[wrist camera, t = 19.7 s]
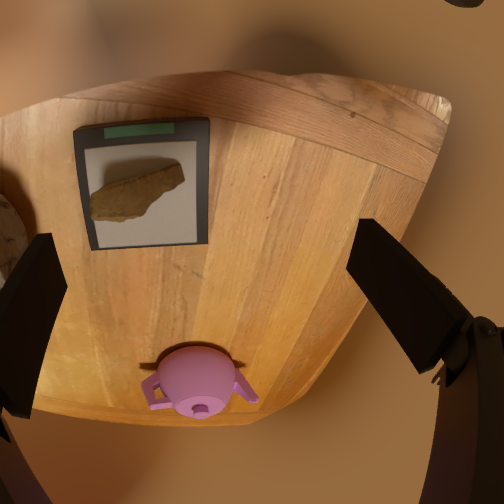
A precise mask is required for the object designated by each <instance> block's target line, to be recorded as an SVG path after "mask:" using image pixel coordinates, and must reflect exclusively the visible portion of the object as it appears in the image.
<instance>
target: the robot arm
mask: <svg viewBox="0 0 504 504" xmlns="http://www.w3.org/2000/svg"><path fill="white" fill-rule="evenodd" d="M346 270H347V271H348V272H349V274H350V275H351V276H352V278H353V279H354V280H355V282H356V283H357V284H358V286H359V287H360V289H361V290H362V291H363V293H364V294H365V295H366V297H367V298H368V300H369V301H370V302H371V304H372V305H373V307H374V308H375V309H376V311H377V312H378V314H379V315H380V316H381V318H382V319H383V321H384V322H385V324H386V325H387V327H388V328H389V329H390V331H391V332H392V334H393V335H394V337H395V338H396V339H397V341H398V342H399V344H400V346H401V347H402V349H403V350H404V352H405V353H406V355H407V356H408V357H409V359H410V361H411V362H412V363H413V365H414V367H415V368H416V370H417V371H418V373H419V374H421V373H424V372H426V371H429V370H431V369H433V368H434V367H435V366H436V364H437V363H438V361H439V360H440V359H441V358H442V360H443V361H444V365H443V366H442V367H441V368H440V370H439V371H438V372H437V374H436V375H435V376H434V377H433V379H432V383H434V382H435V381H436V380H437V378H438V377H440V380H439V382H438V383H437V385H440V387H439V399H438V409H437V417H436V425H435V431H434V438H433V444H432V449H431V455H430V460H429V465H428V469H427V474H426V478H425V482H424V486H423V490H422V494H421V498H420V501H419V504H504V327H497V326H496V325H495V324H494V323H493V322H492V321H491V320H489V319H487V318H486V317H482V316H479V317H476V318H474V317H473V316H472V315H471V314H470V313H469V311H468V310H467V309H466V308H465V307H464V306H463V305H462V303H461V302H460V301H459V300H458V299H457V298H456V297H455V296H454V295H452V292H451V291H450V290H449V289H448V288H446V286H445V285H444V284H443V283H442V282H441V281H440V280H439V279H438V278H437V277H435V276H434V275H432V274H431V273H430V272H429V271H428V270H427V269H426V268H425V267H424V266H423V265H422V264H421V263H420V262H418V260H417V259H416V258H414V256H412V254H410V253H409V252H408V251H407V250H406V249H405V248H404V247H403V246H402V245H401V244H400V243H399V242H398V241H397V240H396V239H395V238H394V237H393V236H392V235H391V234H389V233H388V232H387V231H386V230H385V229H384V228H383V227H382V226H381V225H380V224H379V223H377V222H376V221H375V220H374V219H359V223H358V227H357V231H356V234H355V238H354V242H353V246H352V249H351V253H350V257H349V260H348V264H347V267H346ZM67 287H68V286H67V283H66V280H65V277H64V274H63V271H62V268H61V265H60V261H59V258H58V255H57V251H56V248H55V244H54V240H53V237H52V233H43V234H36V236H35V237H34V238H33V240H32V241H31V243H30V244H29V246H28V247H27V248H26V250H25V251H24V253H23V254H22V256H21V257H20V259H19V261H18V262H17V264H16V265H15V267H14V268H13V270H12V272H11V273H10V275H9V277H8V278H7V280H6V282H5V283H4V285H3V287H2V288H1V290H0V504H53V503H52V502H51V500H50V499H49V497H48V496H47V494H46V493H45V491H44V490H43V488H42V487H41V485H40V483H39V482H38V480H37V479H36V477H35V475H34V474H33V472H32V470H31V469H30V467H29V465H28V463H27V462H26V460H25V458H24V456H23V454H22V453H21V451H20V449H19V447H18V445H17V443H16V441H15V439H14V437H13V435H12V433H11V430H10V428H9V426H8V424H7V422H6V420H5V418H4V417H3V416H2V415H1V413H2V409H3V407H4V408H5V409H6V410H7V411H8V412H9V413H10V414H11V415H12V416H15V417H20V418H26V419H30V415H31V409H32V405H33V400H34V395H35V391H36V386H37V382H38V378H39V374H40V370H41V366H42V363H43V359H44V355H45V352H46V349H47V345H48V342H49V339H50V335H51V332H52V329H53V326H54V323H55V320H56V317H57V314H58V312H59V309H60V306H61V303H62V301H63V298H64V295H65V293H66V290H67Z"/></svg>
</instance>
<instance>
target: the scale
mask: <svg viewBox="0 0 504 504" xmlns="http://www.w3.org/2000/svg"><path fill="white" fill-rule="evenodd" d="M73 138H74V149H75V159H76V167H77V175H78V182H79V189H80V196H81V202H82V208H83V213H84V219H85V224H86V229H87V234H88V238H89V243H90V247H91V251H94V250H110V249H126V248H143V247H161V246H179V245H197V244H208V183H209V142H210V119H209V118H208V117H184V118H161V119H145V120H133V121H122V122H113V123H104V124H96V125H89V126H82V127H80V128H78V129H76V130H74V131H73ZM176 163H180V164H181V167H182V170H183V174H184V177H185V182H183V183H182V184H180V185H178V186H177V187H176V188H175V189H174V190H172V191H169V192H165V193H163V195H162V196H161V197H160V198H158V200H156V201H155V202H153V203H152V204H151V205H150V207H149V208H148V209H147V211H146V214H144V215H143V216H141V217H137V218H135V219H128V220H125V221H124V222H121V223H118V222H110V221H106V220H105V221H95V220H94V221H93V219H91V217H90V211H89V205H90V197H91V194H92V193H94V192H96V191H98V190H99V189H101V187H103V186H104V185H106V184H108V183H112V182H117V181H120V180H123V179H125V178H130V177H133V176H136V175H138V176H139V175H142V174H145V173H147V172H151V171H154V170H158V169H161V168H164V167H167V166H169V165H172V164H176Z"/></svg>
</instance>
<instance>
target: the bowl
mask: <svg viewBox="0 0 504 504" xmlns="http://www.w3.org/2000/svg"><path fill="white" fill-rule="evenodd" d="M27 247H28V240H27V233H26V228H25V226H24V224H23V222H22V220H21V218H20V217H19V215H18V213H17V212H16V210H15V208H14V207H13V206H12V205H11V204H10V202H9V201H8V200H7V199H6V198H5V197H4V196H3V195H2V194H0V290H1V288H2V287H3V285H4V283H5V282H6V280H7V278H8V277H9V275H10V273H11V272H12V270H13V268H14V267H15V265H16V264H17V262H18V261H19V259H20V257H21V256H22V254H23V253H24V251H25V250H26V248H27Z"/></svg>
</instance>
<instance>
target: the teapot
mask: <svg viewBox="0 0 504 504" xmlns="http://www.w3.org/2000/svg"><path fill="white" fill-rule="evenodd" d="M141 386H142V390H143V393H144V395H145V398H146V400H147V403H148V405H149V407H150V410H155V409H163V408H170V407H173V408H174V409H175V410H176V411H177V412H178V413H180V414H182V415H184V416H187V417H194V418H196V419H206V418H208V417H210V416H212V415H215V414H217V413H219V412H220V411H222V410H223V409H224V407H225V406H226V404H227V403H228V401H229V399H230V397H231V395H232V392H233V391H235V392H237V393H238V394H239V395H241V396H242V397H243V398H244V399H246V400H247V401H248V402H249V403H253V402H258V400H259V397H258V396H257V394H256V393H255V392H254V390H253V389H252V388H251V386H250V385H249V383H248V382H247V381H246V379H245V378H244V376H243V375H242V373H241V372H240V371H239V369H235V366H234V364H233V362H232V361H231V359H230V358H229V357H228V356H226V355H225V354H223V353H222V352H220V351H218V350H216V349H213V348H210V347H206V346H188V347H183V348H180V349H177V350H175V351H173V352H172V353H170V354H169V355H167V356H166V357H165V358H164V359H163V360H162V361H161V362H160V364H159V366H158V369H157V372H156V373H154V374H153V375H151V376H150V377H148V378H147V379H145V380H144V381H143V382H141ZM158 387H160V389H161V391H162V393H163V395H164V396H165V397H164V398H160V399H156V397H155V393H154V390H155V389H157V388H158Z"/></svg>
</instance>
